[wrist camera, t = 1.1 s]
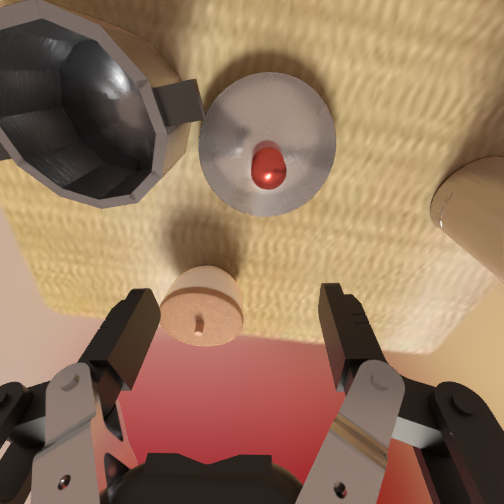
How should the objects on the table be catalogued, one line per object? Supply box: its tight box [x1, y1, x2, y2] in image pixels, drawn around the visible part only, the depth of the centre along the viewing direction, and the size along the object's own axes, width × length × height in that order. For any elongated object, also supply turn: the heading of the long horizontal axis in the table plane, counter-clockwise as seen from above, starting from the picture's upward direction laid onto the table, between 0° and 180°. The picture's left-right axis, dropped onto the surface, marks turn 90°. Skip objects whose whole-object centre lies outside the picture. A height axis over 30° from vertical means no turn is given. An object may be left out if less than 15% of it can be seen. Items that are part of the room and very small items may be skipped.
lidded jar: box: [160, 265, 243, 346], centre depth 33 cm, size 11×11×9 cm
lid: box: [199, 72, 336, 217], centre depth 23 cm, size 14×14×7 cm
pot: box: [0, 0, 206, 209], centre depth 20 cm, size 18×12×8 cm
